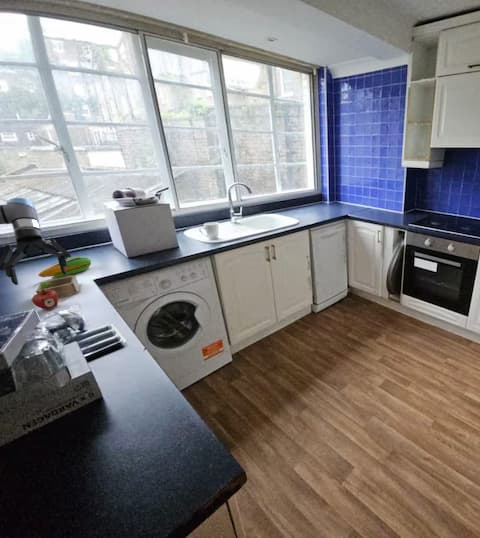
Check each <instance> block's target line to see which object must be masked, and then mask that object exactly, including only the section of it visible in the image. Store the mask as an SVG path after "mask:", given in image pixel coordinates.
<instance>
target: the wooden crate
mask: <svg viewBox="0 0 480 538" xmlns="http://www.w3.org/2000/svg"><path fill="white" fill-rule="evenodd" d="M42 282H43V281H41V282H40V283H39V285H37V289H36V291H35V292H36V294H37V293H39V292H41V291H42V290H41V289H42V287H41V286H40V285H41V283H42ZM44 282H49V283H50V285H49V286H47V287H45V288H44V291H47V290H52V291H55V292H56V293H57V295H58V299H59V298H63V297H67V296H71V295H76V294H78V293H79V289H80V282H79V281H78V279H77V277H76V275H75V274H72V275H69V276H65V277H60V278H53V279H50V280H46V281H44Z"/></svg>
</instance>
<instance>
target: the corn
mask: <svg viewBox="0 0 480 538" xmlns="http://www.w3.org/2000/svg"><path fill="white" fill-rule="evenodd" d="M66 261H67V264H68V265H67V266H64V267H65V270H66V274H65V275H64V274H63V273H62V271H61V268H60V264H59V261H56V262H53V263H52V266H50V267H47V268H45V269H44V270H42V271H40V272H39V273H38V277H40V278H50V277H51V279H59V278H64V277H68V276H73V275H75V274H78V273H81V272H84V271H86V270H87V269H88V268H90V267H91V265H92V260H91V259H90V258H88V257H85V256H71V257H70V258H69V257H68V258H67V259H66Z"/></svg>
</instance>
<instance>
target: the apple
mask: <svg viewBox="0 0 480 538" xmlns="http://www.w3.org/2000/svg"><path fill="white" fill-rule="evenodd" d="M41 282H42V283H41V285H40V286H41V287H42V289H41V290H42V291H41V292H39V293H37V292H36V293H35V294H34V295H33V296H32V298H31V303H32V304H33V305H34V306H36V307H38V308H40V309H42V310H46V311H49V310H53V309H54V308H56V307H57V306H58V303H59V298H58V295H57V293H56V292H55V291H52V290H47V291H44V288H45V287H47V286H49V285H50V283H49V282H45V281H41Z"/></svg>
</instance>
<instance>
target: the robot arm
mask: <svg viewBox="0 0 480 538" xmlns="http://www.w3.org/2000/svg"><path fill="white" fill-rule="evenodd" d="M0 225H12V226H11V227H12V230H13V234H14V237H15V241H16V244H15V245H14V244H13V245H10V244H5V246H4V251H3V252H2V255H1V257H0V271H4V272H5V276H7V277H8V278H10V280H11V283H12V284H13V285H14V286H19V281H18V277H17V273H16V269H14V268H15V266H16V265H17V264H18V263H19V262H20V261H21V260H22V259H23V258H24V257H26V256H28V255H34V254H38V253H41V252H44V253H46V254H49V255H51V256H54V257H56V258H57V260H58V261H59V263H58V264H60V268H61V271H62V273H63V274H64V275H65V274H66V270H65V267H64V266H67V265H68V264H67V261H68V260H66V259H68V258H72V254H71V253H70V252H69V251H68V250H66V249H65V248H64V247H62V246H61V245H60V243H57V241H56V240H55V238H54V237H50V238H49V239H47V240H46V239H45V238H44V234H43V232H42V228H41V224H40V219H39V216H38V213H37V209H36V207H35V204H34V203H33V201H31V200H30V199H27V198H23V197H14V198H10V199H8V200H7V201H6V204H0ZM47 245H50V246H53V247H54V248H55V249H56V250H58V251H59V252H58V251H56V250H54V249H52V248H49V247H47ZM15 250H16V253H15V254H13V253H14V252H15ZM12 255H13V256H12ZM58 261H57V262H58Z"/></svg>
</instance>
